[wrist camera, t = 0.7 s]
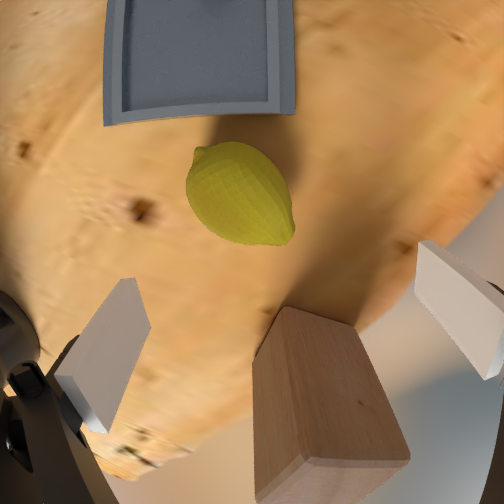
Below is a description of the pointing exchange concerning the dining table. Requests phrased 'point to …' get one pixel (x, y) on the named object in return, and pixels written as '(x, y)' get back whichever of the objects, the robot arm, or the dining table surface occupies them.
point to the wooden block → (320, 415)
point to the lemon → (240, 195)
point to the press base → (197, 59)
